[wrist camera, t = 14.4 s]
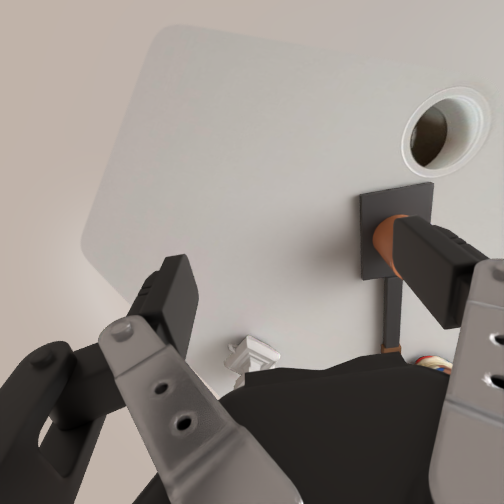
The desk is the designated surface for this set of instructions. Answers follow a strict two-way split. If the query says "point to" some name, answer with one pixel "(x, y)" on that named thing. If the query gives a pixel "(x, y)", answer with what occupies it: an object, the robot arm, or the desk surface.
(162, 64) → the desk surface
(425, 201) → the spatula
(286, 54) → the desk surface
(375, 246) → the copper pot
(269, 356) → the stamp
